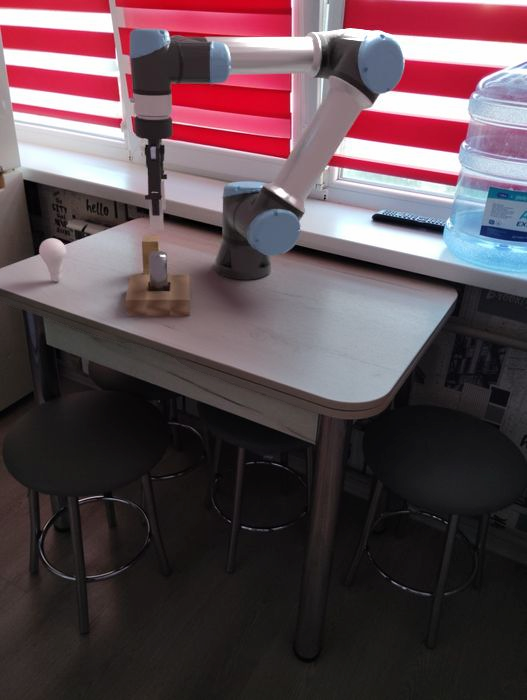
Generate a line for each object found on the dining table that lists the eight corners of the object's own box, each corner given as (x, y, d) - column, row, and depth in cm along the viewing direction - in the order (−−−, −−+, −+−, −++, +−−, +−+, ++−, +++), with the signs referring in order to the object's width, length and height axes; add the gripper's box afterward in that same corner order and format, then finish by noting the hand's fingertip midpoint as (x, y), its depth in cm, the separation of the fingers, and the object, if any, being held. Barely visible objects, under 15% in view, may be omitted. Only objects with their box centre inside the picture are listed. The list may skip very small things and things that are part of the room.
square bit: (160, 272, 155) (158, 236, 150) (159, 278, 151) (158, 241, 146) (144, 272, 154) (142, 235, 149) (143, 278, 151) (141, 241, 146)
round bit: (168, 298, 142) (167, 251, 136) (167, 305, 138) (166, 257, 132) (151, 298, 141) (149, 250, 135) (150, 305, 138) (148, 257, 132)
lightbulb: (62, 288, 143) (56, 244, 138) (38, 284, 144) (32, 241, 139) (74, 278, 148) (69, 236, 143) (51, 275, 149) (45, 233, 144)
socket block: (189, 289, 147) (189, 274, 145) (189, 315, 135) (189, 299, 133) (131, 289, 145) (130, 274, 143) (126, 315, 133) (125, 299, 131)
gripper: (138, 105, 129) (144, 201, 140) (129, 127, 108) (136, 238, 119) (173, 106, 130) (176, 201, 141) (170, 128, 109) (174, 238, 120)
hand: (158, 219), depth 130 cm, fingers open, 13 cm apart
